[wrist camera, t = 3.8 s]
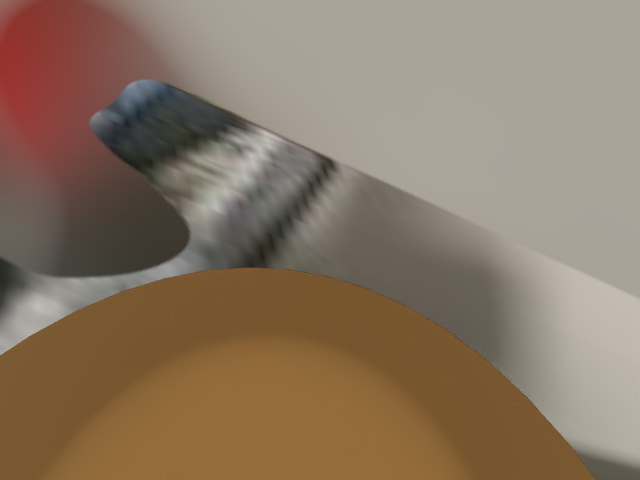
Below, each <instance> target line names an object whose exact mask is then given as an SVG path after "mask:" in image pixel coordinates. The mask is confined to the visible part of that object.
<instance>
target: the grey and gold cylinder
mask: <svg viewBox="0 0 640 480" xmlns="http://www.w3.org/2000/svg"><path fill="white" fill-rule="evenodd" d="M0 480H596V479H595V478H594V477H593V475H592V474H591V473H590V471H589V470H588V469H587V467H586V466H585V465H584V463H583V462H582V461H581V459H580V458H579V457H578V455H577V454H576V453H575V451H574V450H573V449H572V447H571V446H570V445H569V444H568V442H567V441H566V440H565V439H564V438H563V437H562V436H561V435H560V434H559V432H558V431H557V430H556V429H555V428H554V427H553V426H552V425H551V423H550V422H549V421H548V420H547V419H546V418H545V417H544V416H543V415H542V413H541V412H540V411H539V410H538V409H537V408H536V407H535V406H534V404H533V403H532V402H531V401H530V400H529V399H528V398H527V397H526V396H525V395H524V394H523V393H522V392H521V391H520V390H519V389H517V388H516V387H515V386H514V385H513V384H512V383H511V382H510V381H509V380H508V379H507V378H506V377H504V376H503V375H502V374H501V373H500V372H499V371H498V370H497V369H496V368H495V367H494V366H493V365H491V364H490V363H489V362H488V361H487V360H486V359H485V358H483V357H482V356H481V355H479V354H478V353H477V352H475V351H474V350H473V349H471V348H470V347H469V346H467V345H466V344H465V343H463V342H462V341H461V340H459V339H458V338H457V337H455V336H454V335H453V334H451V333H450V332H449V331H447V330H446V329H444V328H443V327H441V326H439V325H438V324H436V323H434V322H432V321H431V320H429V319H427V318H426V317H424V316H422V315H421V314H419V313H417V312H416V311H414V310H412V309H410V308H409V307H407V306H405V305H403V304H401V303H398V302H396V301H394V300H392V299H389V298H387V297H385V296H383V295H380V294H378V293H376V292H374V291H371V290H369V289H367V288H364V287H360V286H357V285H354V284H351V283H347V282H344V281H341V280H337V279H334V278H331V277H328V276H322V275H316V274H311V273H305V272H299V271H293V270H288V269H268V268H248V267H247V268H233V269H219V270H206V271H201V272H196V273H190V274H185V275H180V276H175V277H169V278H164V279H161V280H158V281H155V282H151V283H148V284H145V285H142V286H138V287H135V288H132V289H129V290H125V291H122V292H120V293H117V294H115V295H113V296H110V297H108V298H106V299H103V300H101V301H98V302H96V303H94V304H91V305H89V306H87V307H84V308H82V309H80V310H77V311H75V312H74V313H72V314H70V315H68V316H66V317H64V318H62V319H61V320H59V321H57V322H55V323H53V324H51V325H49V326H48V327H46V328H44V329H42V330H40V331H38V332H37V333H35V334H33V335H31V336H29V337H28V338H26V339H25V340H23V341H22V342H20V343H19V344H17V345H16V346H14V347H13V348H11V349H10V350H8V351H7V352H5V353H4V354H2V355H1V356H0Z"/></svg>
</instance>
